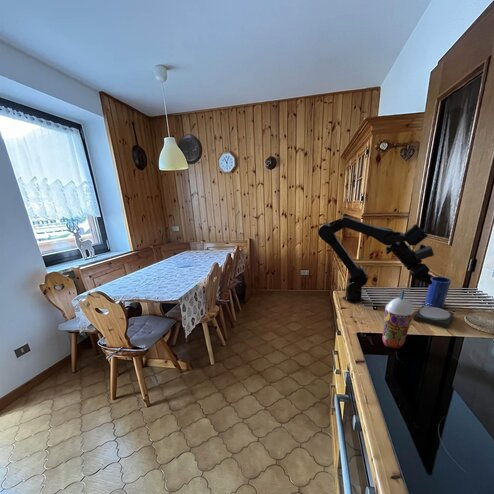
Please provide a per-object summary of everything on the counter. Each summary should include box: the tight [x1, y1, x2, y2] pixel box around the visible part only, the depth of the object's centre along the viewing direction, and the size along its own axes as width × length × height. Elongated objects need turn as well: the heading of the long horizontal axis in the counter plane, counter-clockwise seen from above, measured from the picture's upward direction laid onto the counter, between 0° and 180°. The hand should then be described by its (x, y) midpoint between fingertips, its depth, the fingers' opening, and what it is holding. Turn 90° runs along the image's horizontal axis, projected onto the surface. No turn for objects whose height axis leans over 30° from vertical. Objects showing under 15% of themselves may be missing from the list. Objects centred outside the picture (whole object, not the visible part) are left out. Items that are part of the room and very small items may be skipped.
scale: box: [413, 305, 455, 329], centre depth 111 cm, size 11×11×3 cm
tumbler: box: [424, 276, 452, 309], centre depth 120 cm, size 7×7×12 cm
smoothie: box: [381, 289, 415, 349], centre depth 93 cm, size 8×8×20 cm
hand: (428, 279), depth 118 cm, fingers open, 9 cm apart
